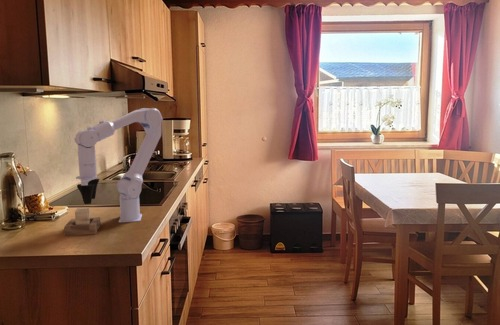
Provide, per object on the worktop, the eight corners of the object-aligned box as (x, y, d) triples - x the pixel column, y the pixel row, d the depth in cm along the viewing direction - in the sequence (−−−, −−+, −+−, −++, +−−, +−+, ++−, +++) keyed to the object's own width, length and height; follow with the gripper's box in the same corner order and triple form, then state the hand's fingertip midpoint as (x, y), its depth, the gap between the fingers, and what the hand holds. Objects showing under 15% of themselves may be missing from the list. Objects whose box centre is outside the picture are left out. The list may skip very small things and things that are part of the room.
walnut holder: (71, 226, 150) (71, 218, 149) (100, 225, 151) (100, 217, 151) (64, 235, 140) (64, 227, 139) (95, 233, 142) (95, 225, 141)
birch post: (78, 227, 147) (77, 208, 146) (90, 226, 148) (89, 207, 147) (76, 230, 143) (74, 211, 142) (88, 230, 144) (87, 210, 143)
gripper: (80, 161, 153) (82, 197, 155) (70, 167, 139) (73, 206, 141) (99, 160, 154) (102, 196, 156) (92, 166, 140) (95, 205, 142)
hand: (89, 201), depth 148 cm, fingers open, 7 cm apart
